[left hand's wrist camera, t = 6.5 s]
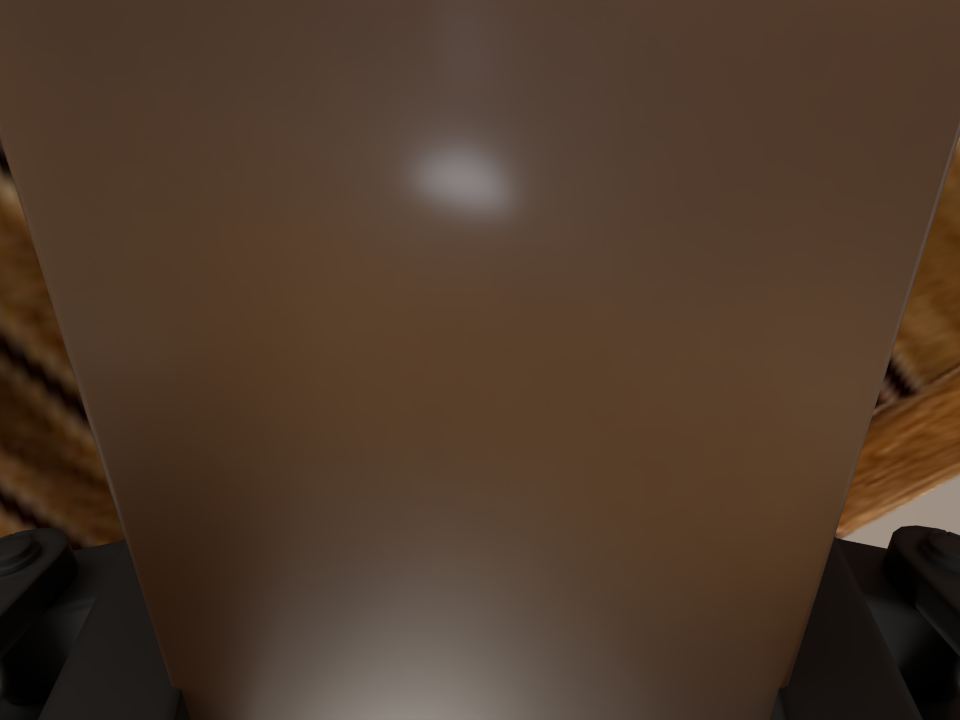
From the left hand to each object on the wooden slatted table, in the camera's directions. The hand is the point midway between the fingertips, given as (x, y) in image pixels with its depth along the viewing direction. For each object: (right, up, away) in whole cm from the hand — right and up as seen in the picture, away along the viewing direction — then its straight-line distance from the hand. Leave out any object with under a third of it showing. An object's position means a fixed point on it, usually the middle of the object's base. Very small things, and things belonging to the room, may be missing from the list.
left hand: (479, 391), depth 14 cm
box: (0, +8, +1) cm, 8 cm away
